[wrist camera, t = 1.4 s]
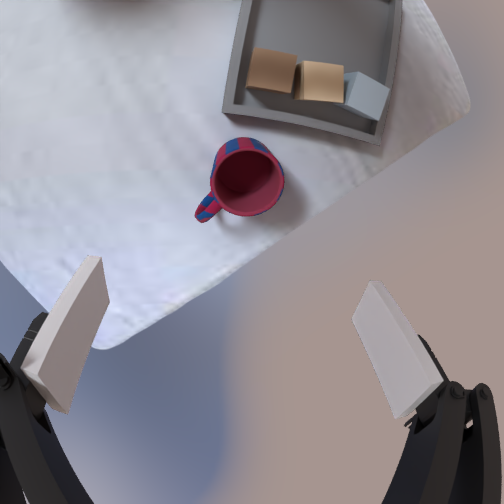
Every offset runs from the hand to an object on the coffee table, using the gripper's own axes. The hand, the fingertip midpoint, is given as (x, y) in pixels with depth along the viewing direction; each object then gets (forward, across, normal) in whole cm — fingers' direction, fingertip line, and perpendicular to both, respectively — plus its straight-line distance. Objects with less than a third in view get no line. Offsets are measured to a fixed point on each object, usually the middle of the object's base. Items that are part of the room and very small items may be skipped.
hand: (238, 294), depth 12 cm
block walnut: (+20, +2, +12) cm, 24 cm away
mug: (+21, 0, 0) cm, 21 cm away
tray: (+20, +7, +18) cm, 28 cm away
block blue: (+20, +12, +12) cm, 26 cm away
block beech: (+20, +7, +12) cm, 24 cm away
